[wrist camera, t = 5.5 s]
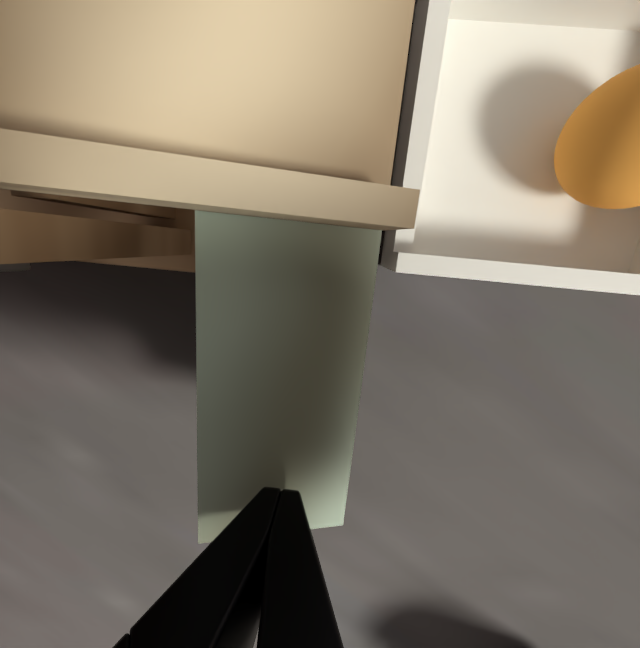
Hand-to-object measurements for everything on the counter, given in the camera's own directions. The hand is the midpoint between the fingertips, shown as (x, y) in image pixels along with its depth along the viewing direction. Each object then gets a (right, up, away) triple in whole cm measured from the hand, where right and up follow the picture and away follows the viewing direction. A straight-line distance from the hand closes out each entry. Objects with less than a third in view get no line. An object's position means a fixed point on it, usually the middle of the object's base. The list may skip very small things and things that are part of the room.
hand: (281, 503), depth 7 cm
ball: (+9, +9, +1) cm, 12 cm away
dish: (+7, +9, +3) cm, 12 cm away
